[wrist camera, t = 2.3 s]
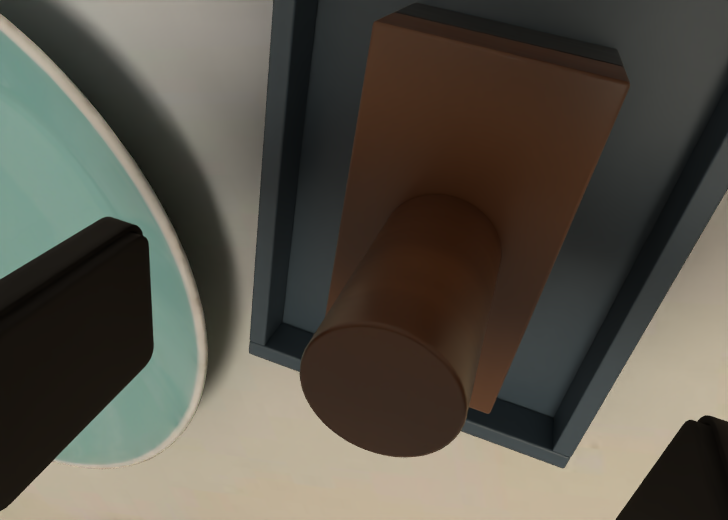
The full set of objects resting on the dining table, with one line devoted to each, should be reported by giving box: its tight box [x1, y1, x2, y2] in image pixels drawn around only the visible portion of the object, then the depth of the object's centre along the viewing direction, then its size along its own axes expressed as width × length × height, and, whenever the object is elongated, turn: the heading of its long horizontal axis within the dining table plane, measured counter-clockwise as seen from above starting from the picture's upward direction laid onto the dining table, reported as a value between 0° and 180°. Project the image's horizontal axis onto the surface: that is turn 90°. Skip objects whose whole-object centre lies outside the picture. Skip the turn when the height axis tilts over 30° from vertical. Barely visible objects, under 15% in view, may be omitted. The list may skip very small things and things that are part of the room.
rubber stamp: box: [300, 3, 630, 457], centre depth 12 cm, size 9×5×8 cm, turn 170°
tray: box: [249, 0, 728, 468], centre depth 15 cm, size 15×11×2 cm
